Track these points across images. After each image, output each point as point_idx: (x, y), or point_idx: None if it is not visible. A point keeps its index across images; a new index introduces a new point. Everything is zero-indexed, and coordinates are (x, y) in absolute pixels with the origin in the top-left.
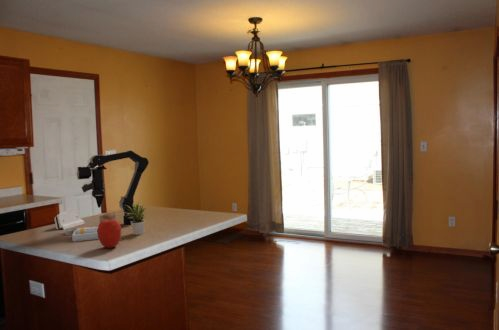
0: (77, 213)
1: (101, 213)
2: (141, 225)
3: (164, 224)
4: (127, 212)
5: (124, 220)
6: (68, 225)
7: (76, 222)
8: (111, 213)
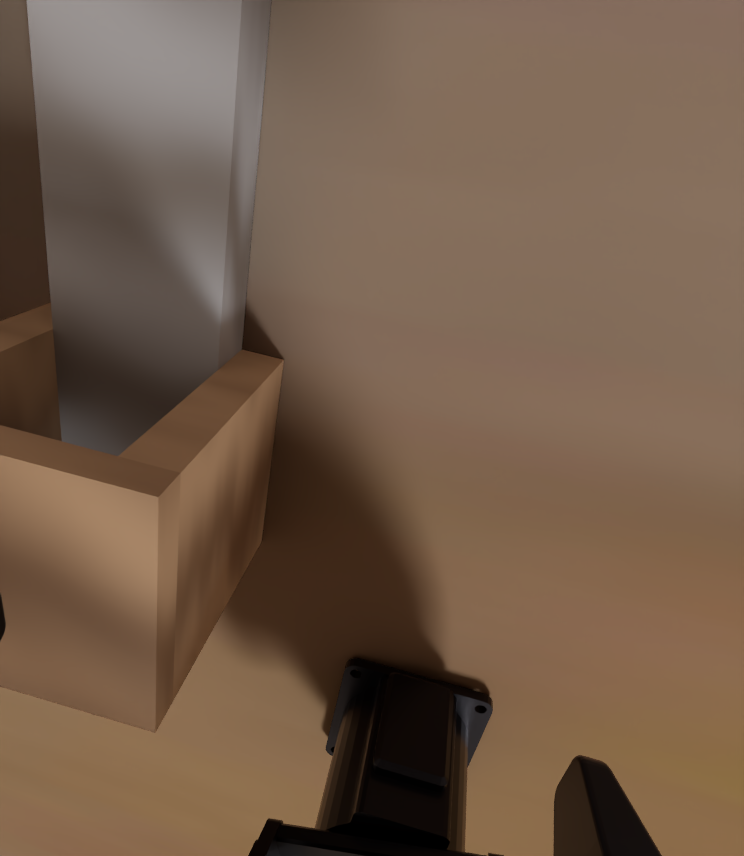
0: None
1: (159, 531)
2: None
3: (156, 843)
4: (256, 843)
5: (382, 710)
6: None
7: None
8: (52, 656)
